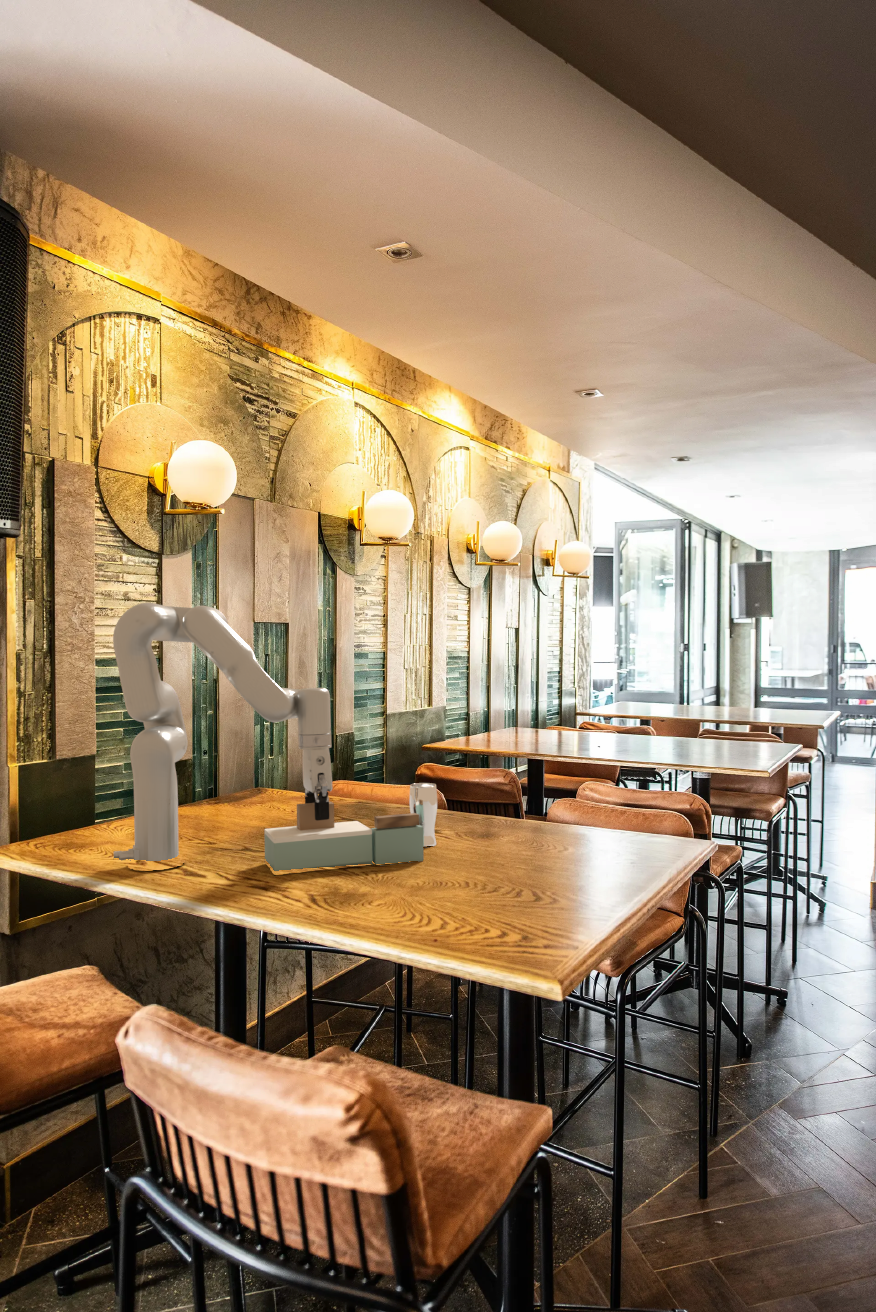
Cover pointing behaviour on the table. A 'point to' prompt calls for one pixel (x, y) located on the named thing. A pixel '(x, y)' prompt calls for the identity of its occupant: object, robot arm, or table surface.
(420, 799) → the beer glass
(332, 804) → the lid
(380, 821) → the brown rectangular block
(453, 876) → the table surface
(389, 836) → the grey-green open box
